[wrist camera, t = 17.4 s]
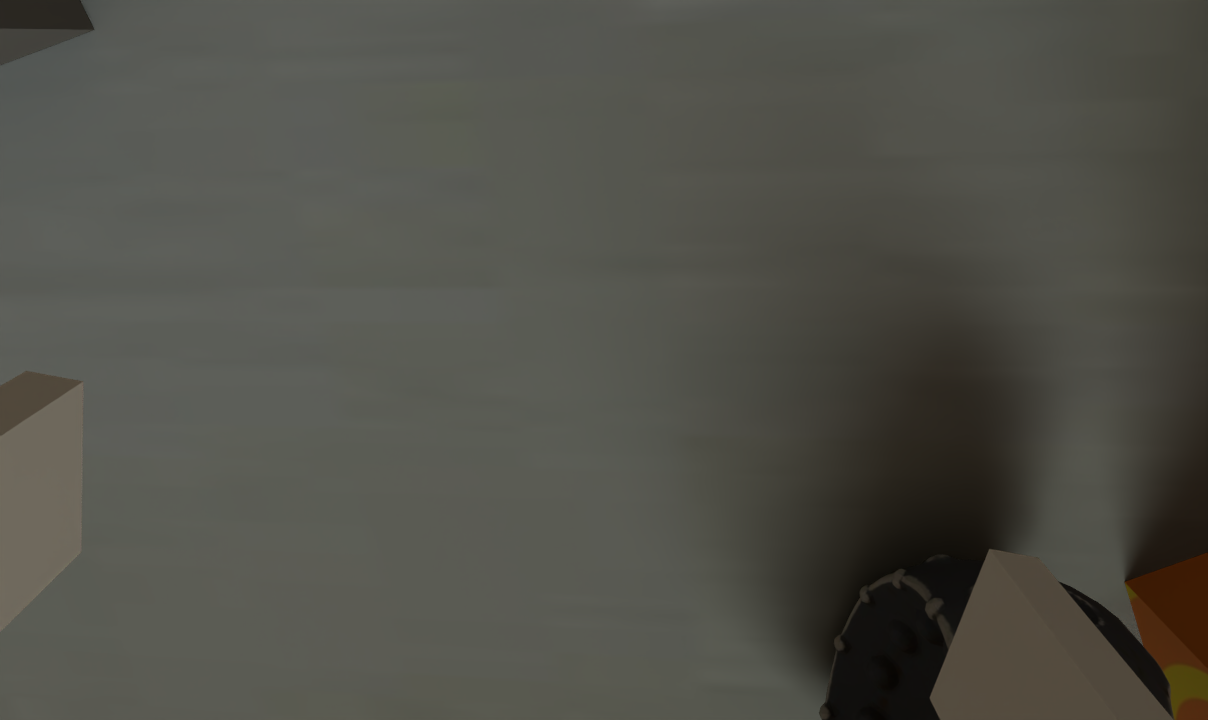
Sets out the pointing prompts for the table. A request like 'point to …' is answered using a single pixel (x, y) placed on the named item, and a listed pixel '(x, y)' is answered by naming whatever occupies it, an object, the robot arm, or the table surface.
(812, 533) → the table surface
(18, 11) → the stand
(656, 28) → the table surface
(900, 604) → the studded black puck
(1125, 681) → the robot arm
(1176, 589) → the box
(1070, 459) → the table surface
